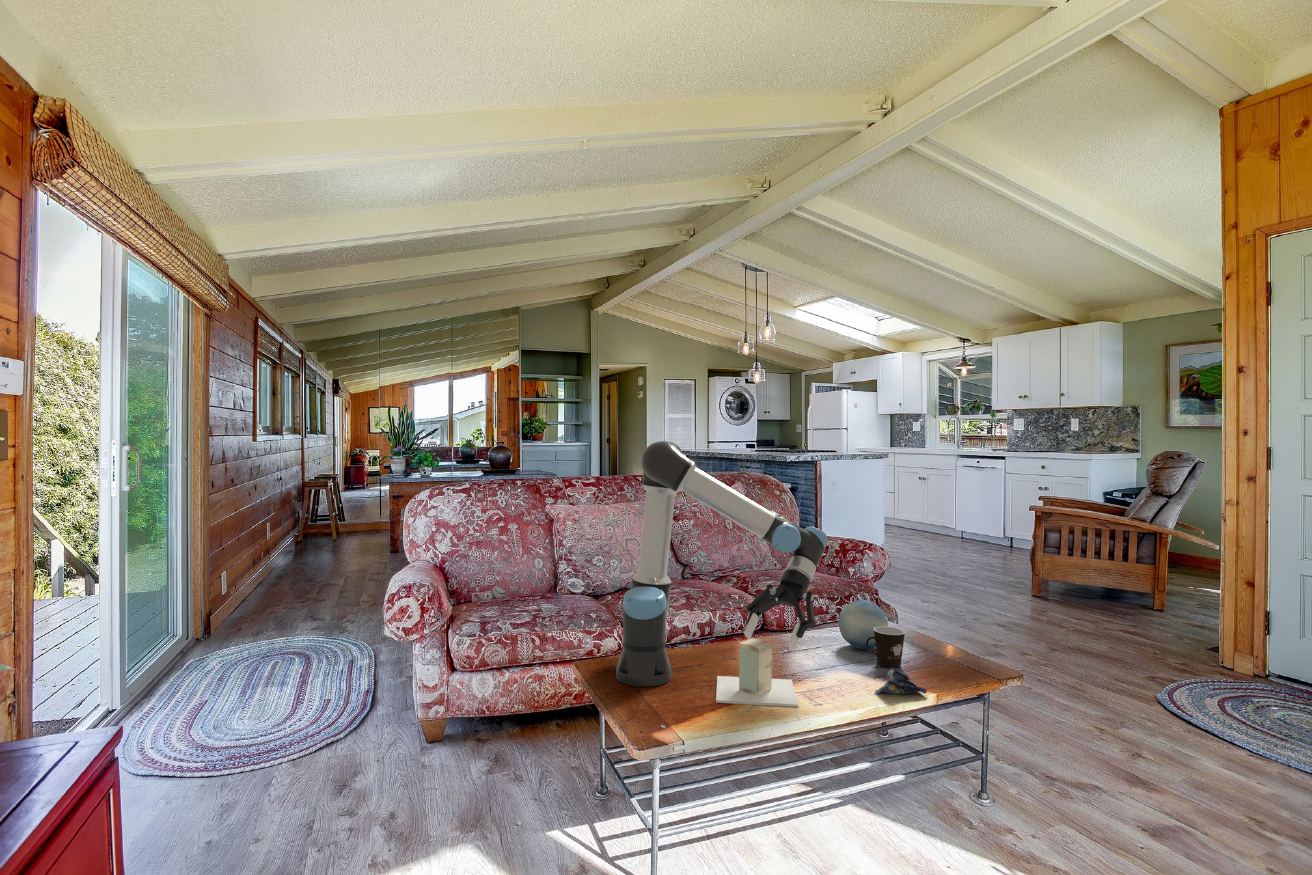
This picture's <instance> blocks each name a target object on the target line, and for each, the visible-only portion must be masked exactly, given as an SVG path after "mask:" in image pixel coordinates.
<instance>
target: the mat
mask: <svg viewBox="0 0 1312 875" xmlns="http://www.w3.org/2000/svg"><path fill="white" fill-rule="evenodd" d="M715 703H717V704H718V703H721V704H732V705H733V704H736V705H751V706H752V705H753V706H770V707H771V706H772V707H789V708H790V707H791V708H798V707H799V702H798V699H797V695H796V691H795V688H794V683H793V679H786V678H785V679H784V678H772V689H771V690H769V691H767V692H765V693H763V694H761V695H759V696H758V695H755V694H752V693H748V692H745V691H742V690H739V676H723V675H722V676H721V675H717V677H716V695H715Z"/></svg>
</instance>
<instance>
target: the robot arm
mask: <svg viewBox="0 0 1312 875" xmlns="http://www.w3.org/2000/svg"><path fill="white" fill-rule="evenodd" d="M682 450H683V449H681V448H680V446H679V445H677V444H676V443H674V442H671V441H667V440H666V441H665V440H660V441H655V442H652V443H651V444H649V445H648V446H647V447H646V448H645V450H644V451H643V453H642V456H641V462H640V463H641V469H642V481H641V486H642V487H643V488H644V490H645V502H644V510H643V511H644V513H643V520H642V528H641V529H642V531H641V540H640V549H639V559H638V567H637V568H638V570H637V572H636V573H634V575H632V576H631V577H632V578H631V587H630V589H628V590H627V591H626V592H625V593H624V595H623V601H622V609H623V610H622V611H623V612H622V613H623V616H622V617H623V618H622V619H623V620H622V626H623V627H622V628H623V629H622V642H623V643H622V650H621V653H620V656H619V659H618V663H617V666H616V670H615V672H616V673H615V677H616V680H617V681H618V682H620V683H622V684H624V685H627V686H631V687H645V688H647V687H656V686H661V685H664V684H667V683H668V682H670V681H671V679H672V666H671V663H670V660H669V656H668V653H667V650H666V649H667V648H666V624H667V623H666V622H667V616H668V613H669V611H670V607H671V589H672V587H671V586H672V579H670V578H671V577H669V576H668V568H669V559H670V549H671V548H670V547H671V540H672V529H673V520H674V519H673V518H674V509H675V500H676V495H677V493H679V492H682V493H685V494H686V495H688V496H689V497H691V498H692V499H693V500H694V499H695V500H696V501H698V502H700V503H702V504H703V505H705V506H706V507H708V508H710V509H712V510H713V511H715V512H716V513H718V514H720V515H722V517H725V518H727V519H729V520H730V521H732V522H733V523H734V524H737V525H738V526H740V527H742V528H743V529H745V530H747V531H748V532H750V533H752V534H753V535H755V536H757V537H759V538H761V540H763V541H765V542H767V543H769V544H770V545H772V546H773V547H774V548H775V549H776V550H777V551H779V552H781V553H785V554H788V553H792V555H791V557H790V559H789V561H788V562H787V565H786V568H785V570H784V571H783V573H782V574H783V575H782V577H781V579H780V581H779V585H778V586H777V587H775V586H773V585H772V584H771V583H769V584H767V586H766V587H765V589H764V590H763V591H762V592H761V593H760V594H759V595H758V596H757V597H756V598H755V599H754V600H752V601H751V602H750V603H749V604H748V605H747V606H746V608H745V609H746V610H747V612H748V613H749V615H748V617H747V620H746V627H745V630H744V631H743V635H744V636H745V637H746V640H749V639H751V638H752V635H753V634H754V631H755V630H756V627H757V625H758V623H759V620H760V618H759V616H761V615H763V614H764V613H766V612H768V611H769V610H771V609H773V608H774V607H778V606H780V605H782V606H788V607H794V609H795V611H796V612H795V613H796V614H797V616H798V617H797V618H798V619H799V622H796V624H795V626H794V628H793V631H792V633H791V636H790V637H789V640H788V643H787V645H788V648H790V650H791V651H795V649H796V647H797V644H798V643H799V640H800V639H802V638H803V637H804V634H805V632H806V630H807V629H808V628H811V629H814V628H815V627H816V621H815V620H816V619H815V611H814V602H815V596H814V595H813V592H812V591H811V590H809V591H808V589H809V587H810V584H811V582H812V579H813V578H814V574H815V572H816V570H817V567H818V565H819V564H820V563H819V562H820V561H821V559H822V556H823V554H824V552H825V550H826V547H827V544H828V541H829V539H828V536H827V534H826V533H825V532H824V531H823V530H822V529H820V528H816V527H814V526H807V527H805V528H804V529H803V528H801V527H800V526H798V525H797V524H795V523H793V522H792V521H790V520H789V519H787V518H786V517H784V516H783V515H782V514H780V513H778V512H775V511H774V510H768V509H767V508H765V507H763V506H762V505H760V504H758V503H757V502H755V501H754V500H751V499H750V498H748V497H746V496H745V495H743V494H741V493H740V492H738V491H736V490H735V489H733V488H731V487H730V486H729V485H726V484H725V483H724V482H721V481H720V480H718V479H716V478H714V477H713V476H711V475H710V474H708V473H706V472H704V471H703V470H701V469H700V468H698V467H697V466H696V462H695V461H693V460H692V459H690V458H688V457H687V456H685V455H684V452H683V451H682ZM803 600H805V608H806V609H805V610H806V617H805V615H804V613H803V609H802V607H801V603H800V602H802V601H803ZM806 618H807V620H806Z"/></svg>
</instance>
